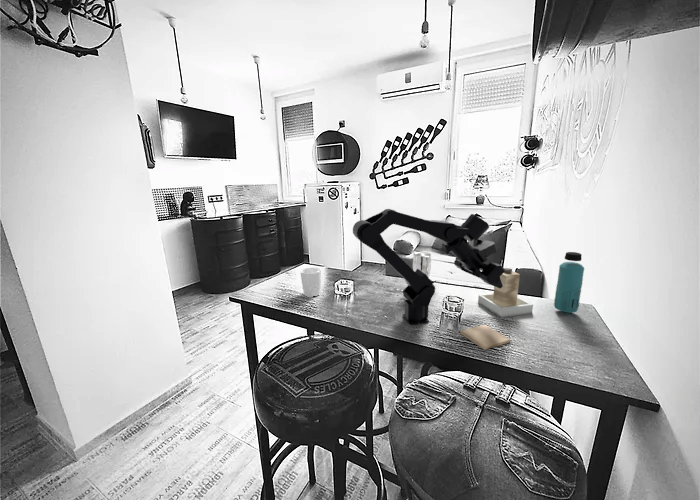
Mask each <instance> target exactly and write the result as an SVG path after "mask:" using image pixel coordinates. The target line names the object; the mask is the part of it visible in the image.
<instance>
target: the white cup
mask: <svg viewBox="0 0 700 500" xmlns="http://www.w3.org/2000/svg"><path fill="white" fill-rule="evenodd" d="M321 271H322V269H321V268H318V267H307V268H303V269H301V270H300V278H301V279H300V280H301V284H302V286H301V287H302V291H303V296H304V295H305V296H307V297H306V298H314V297H313V296H317V295H319V294H320V295H321V290H322V289H321V287H322V279H321V278H322V275H321V274H322V272H321ZM320 295H319V296H320ZM305 296H304V297H305ZM317 297H318V296H317Z"/></svg>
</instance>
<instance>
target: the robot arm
mask: <svg viewBox="0 0 700 500" xmlns="http://www.w3.org/2000/svg"><path fill="white" fill-rule="evenodd" d="M393 225H395V226H400V227H403V228H407V229H411V230H415V231H418V232H421V233H425V234H426V235H427V234H428V235H429V236H432V237H433V238H436V239H438V240H439V241H443V242H445V243H442V244H441V249H440V252H441V253H444V254H446V255H448V254H450V252H451V253H452V254H453V256H454V257H455V260H454V263H453V264H454V266H456V268H457V269H459V270H461V271H462V272H465V273H467V274H470V275H472V276H474V277H477V278H479V279H481V281H483V282H484V283H486V284H487V285H489V286H493V287H494V286H495V287H498V288H500V289H501V288H502V287H503V285H502V282H501V279H500V276H501V275H502V274H503V273H504V272H505V269H504V268H505V267H503V265H501V264H499V263H496V262H489V263H488V264H487V263H486V262H487V261H488V260H489V259H488V257H489V256H492V255H494V254H497V253H498V249H497V245H496V243H495V241H491V240H487V239H486V240H485V239H482V240H481V239H480V238H481V237H482V236H483V235H484V234H485V233H486V232H487V231H488V230H489V228H490V225H489V224H488V222H487V221H486V220H485V219H484V220H483V218H481V217H479V216H477V214H475V213H471V214H469V216H468V217H467V219H466V220H465V221H464V222H463V223H462V224H461V225H457V224H455V223H452V222H448V221H444V220H439V219H438V220H435V219H424V218H421V217H418V216H417V217H416V216H412V215H410V214H405V213H403V212H398V211H396V210H395V209H391V208H385V209H383V210H382V211H381V212H379V213H376V214H373V215H372V216H370V217H368V218H366V219H363V220H362V219H361V220H357V221H356V222H355V223H354V224H353V227H352V234H353V236H355V238H356V239H357V240H358V241H360V242H361V243H362V244H363V245H366V246H367V247H368V248H370V249H372V251H373V250H374V251H375V252H376V253H378V255H379V256H380V257H381V258H383V260H384V261H386V262H387V264H389V265H390V266H391V268H393V269H394V270H395V271H396V273H398V274H399V275H400V276H401V277H402V278H403V280H404V281H405V283H406V285H407V286H406V287H405V288H404V289H403V290H402V295H403V297H404V298H405V299H406V300H404V313H403V314H402V317H403V318H404V319H405V320H406V322H407V323H408V324H409V325H418V324H425V323H430V320H429V319H428V318H429V305H430V303H431V301H432V298H433V296H434V295H435V292H436V287H435V285H434V284H435V281H434V280H432V279H431V278H430V277H429V278H428V276H427V275H426V274H425V273H423V272H422V271H420V270H419V269H417V270H416V271H413V268H411V266H410V265H408V264H407V263H406V262H405V261H404V260H403V259H402V258H401V257H400V256H399V255H398V254H397V253H396V252H395V251H394V250H393V249H392V248H391V246H389V245H388V244H387V243H386V242H385V240H384V238H383V236H382V233H384V232H385V231H386V230H387V229H388V228H389V227H390V226H393ZM472 241H473V243H472V244H473V245H471V242H472ZM469 242H470V243H469Z"/></svg>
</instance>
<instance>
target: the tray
mask: <svg viewBox="0 0 700 500" xmlns="http://www.w3.org/2000/svg"><path fill="white" fill-rule="evenodd" d="M493 294H494V292H492V293H491V292H490V293H483V294H478V299H477V300H478V301H477V303H478V304H479V305H480V306H482V307H484V308H485V309H487V310H488V311H490V312H491V313H493V314H494V315H495V316H498V317H499V318H507V317H513V316H521V315H523V316H524V315H529V314H533V308H534V304H532V303H531V302H529V301H527V300H525V299H523V298H521V297H519V296H517V303H516V306H509V307H500V306H498V305H497V304H495V303H494V302H493Z"/></svg>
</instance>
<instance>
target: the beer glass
mask: <svg viewBox="0 0 700 500" xmlns="http://www.w3.org/2000/svg"><path fill="white" fill-rule="evenodd" d="M417 269H419V270H420V271H422V272H423V273H425V274H426V275H427V276H428V278H429V279H430V274H431V271H432V254H431V253H429V252H425V251H424V252H423V251H420V252H415V253H413V258H412V270H413V271H416V270H417Z"/></svg>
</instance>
